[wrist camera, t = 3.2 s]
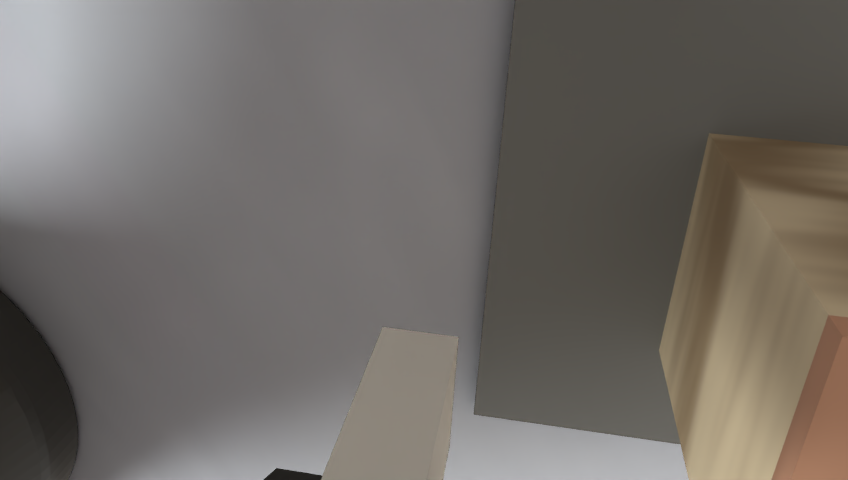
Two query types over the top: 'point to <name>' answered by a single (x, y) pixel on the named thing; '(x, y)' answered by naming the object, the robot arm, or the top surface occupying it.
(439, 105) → the top surface
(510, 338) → the mat
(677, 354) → the flip block
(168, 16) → the top surface
